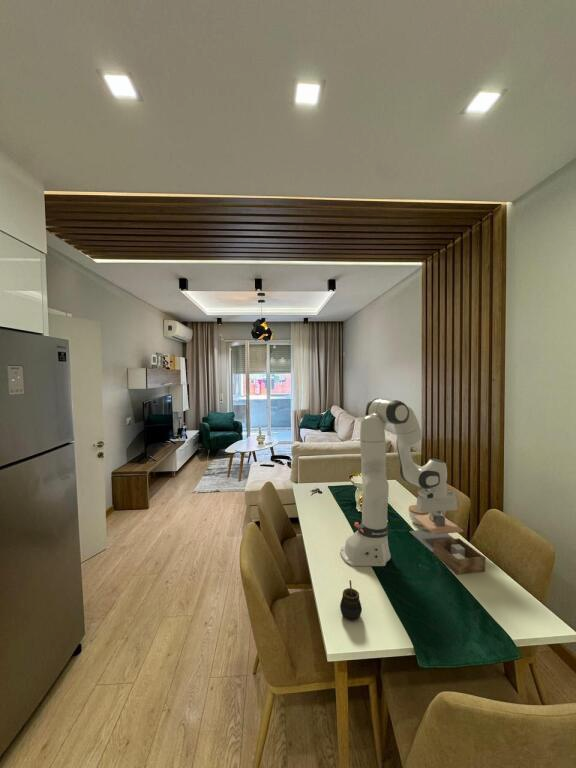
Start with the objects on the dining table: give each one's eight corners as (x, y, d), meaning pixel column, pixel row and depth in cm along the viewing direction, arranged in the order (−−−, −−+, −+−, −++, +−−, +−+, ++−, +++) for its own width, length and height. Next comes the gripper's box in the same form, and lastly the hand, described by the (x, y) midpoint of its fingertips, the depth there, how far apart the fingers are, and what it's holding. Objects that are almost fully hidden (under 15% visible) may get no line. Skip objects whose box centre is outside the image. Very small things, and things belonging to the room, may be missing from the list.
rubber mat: (432, 552, 152) (432, 551, 152) (409, 531, 171) (409, 531, 171) (467, 548, 155) (467, 548, 155) (440, 529, 174) (440, 528, 174)
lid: (434, 534, 152) (434, 524, 152) (413, 518, 170) (413, 508, 170) (463, 531, 155) (463, 521, 155) (439, 515, 173) (439, 506, 173)
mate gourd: (342, 624, 108) (342, 594, 108) (338, 608, 116) (337, 580, 116) (364, 623, 109) (364, 593, 109) (358, 607, 116) (358, 579, 116)
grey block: (456, 558, 145) (456, 549, 145) (450, 553, 149) (450, 544, 149) (464, 557, 146) (464, 548, 146) (458, 552, 150) (458, 544, 150)
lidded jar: (424, 518, 187) (425, 502, 187) (432, 527, 176) (432, 509, 176) (405, 518, 187) (406, 501, 187) (412, 526, 177) (412, 509, 176)
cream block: (457, 568, 138) (457, 559, 137) (451, 563, 142) (451, 554, 141) (465, 567, 138) (465, 558, 138) (459, 562, 142) (459, 553, 142)
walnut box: (456, 574, 135) (457, 560, 135) (433, 553, 151) (433, 540, 150) (484, 571, 137) (485, 557, 137) (458, 551, 153) (459, 538, 153)
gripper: (451, 488, 167) (451, 515, 167) (414, 490, 164) (414, 518, 164) (460, 492, 161) (460, 520, 161) (422, 495, 157) (421, 523, 158)
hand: (436, 519), depth 163 cm, fingers closed on lid, 3 cm apart
